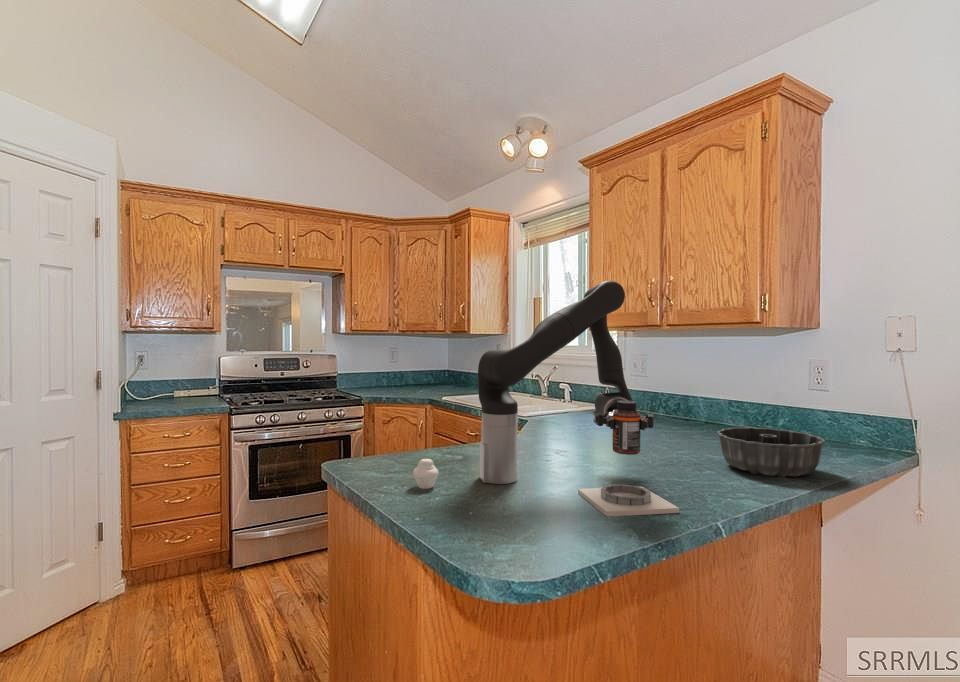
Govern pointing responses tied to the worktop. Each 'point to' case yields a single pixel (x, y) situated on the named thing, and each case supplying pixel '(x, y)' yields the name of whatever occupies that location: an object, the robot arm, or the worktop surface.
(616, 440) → the supplement bottle
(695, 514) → the worktop surface
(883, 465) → the worktop surface
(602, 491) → the collar
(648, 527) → the worktop surface
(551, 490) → the worktop surface
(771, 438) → the bundt pan
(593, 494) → the board
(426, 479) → the white lidded jar
